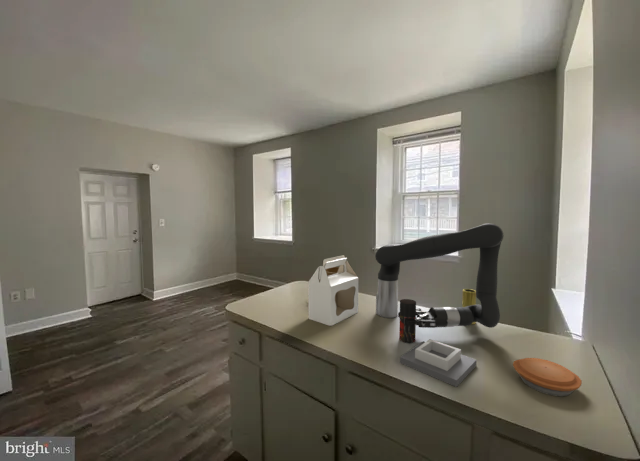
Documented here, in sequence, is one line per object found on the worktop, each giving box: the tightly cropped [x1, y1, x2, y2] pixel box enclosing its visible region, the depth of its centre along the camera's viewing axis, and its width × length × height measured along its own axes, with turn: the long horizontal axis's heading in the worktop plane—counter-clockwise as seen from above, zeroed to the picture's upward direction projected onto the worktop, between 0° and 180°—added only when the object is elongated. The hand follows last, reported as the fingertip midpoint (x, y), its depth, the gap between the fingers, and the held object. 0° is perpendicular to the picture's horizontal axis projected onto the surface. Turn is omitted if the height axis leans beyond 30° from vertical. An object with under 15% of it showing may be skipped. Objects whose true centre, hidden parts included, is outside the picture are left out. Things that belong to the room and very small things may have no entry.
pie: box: [512, 357, 583, 397], centre depth 83 cm, size 15×16×5 cm
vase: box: [461, 288, 477, 325], centre depth 128 cm, size 6×6×14 cm
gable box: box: [307, 254, 359, 327], centre depth 136 cm, size 22×13×28 cm, turn 140°
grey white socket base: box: [399, 338, 478, 388], centre depth 93 cm, size 18×16×5 cm
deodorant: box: [398, 298, 417, 344], centre depth 111 cm, size 6×6×15 cm
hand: (401, 318), depth 111 cm, fingers closed on deodorant, 6 cm apart
